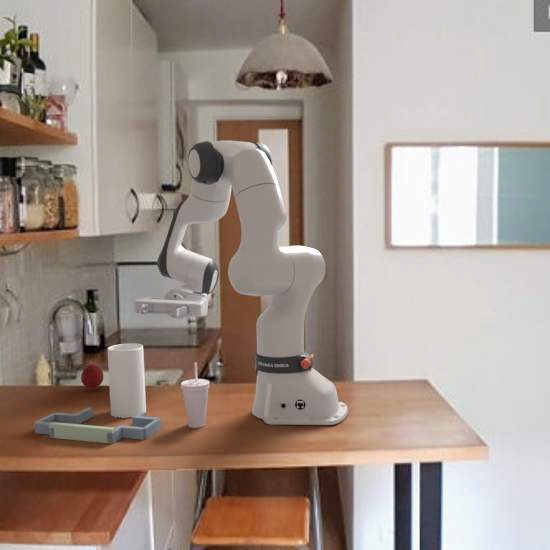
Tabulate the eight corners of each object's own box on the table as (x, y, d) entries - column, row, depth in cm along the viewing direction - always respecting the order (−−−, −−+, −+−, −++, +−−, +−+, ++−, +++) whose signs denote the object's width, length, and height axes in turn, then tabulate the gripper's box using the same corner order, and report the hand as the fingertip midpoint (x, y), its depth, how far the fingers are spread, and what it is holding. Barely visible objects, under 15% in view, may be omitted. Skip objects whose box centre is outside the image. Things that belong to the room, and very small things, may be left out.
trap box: (168, 423, 128) (167, 410, 127) (136, 446, 115) (135, 431, 114) (68, 415, 135) (68, 402, 135) (28, 435, 122) (27, 421, 122)
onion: (97, 393, 153) (95, 364, 152) (77, 393, 154) (76, 364, 153) (107, 387, 158) (106, 359, 158) (88, 387, 159) (87, 359, 159)
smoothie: (216, 421, 128) (213, 360, 127) (203, 431, 122) (201, 367, 121) (190, 419, 130) (188, 359, 129) (177, 428, 124) (174, 365, 123)
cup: (133, 419, 131) (130, 351, 130) (103, 416, 134) (100, 349, 132) (152, 408, 139) (149, 344, 138) (123, 405, 142) (120, 342, 140)
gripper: (146, 290, 166) (122, 298, 153) (212, 293, 161) (193, 302, 148) (147, 311, 167) (123, 321, 154) (212, 315, 162) (193, 326, 149)
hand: (158, 312), depth 151 cm, fingers open, 8 cm apart
